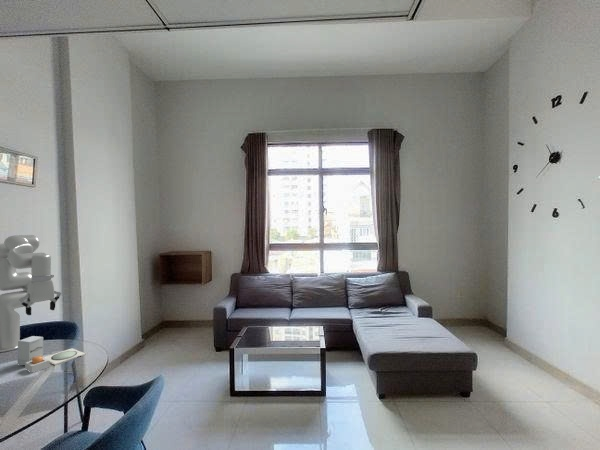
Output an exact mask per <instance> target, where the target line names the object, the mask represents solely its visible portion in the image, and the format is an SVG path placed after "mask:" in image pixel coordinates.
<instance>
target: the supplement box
mask: <svg viewBox="0 0 600 450" xmlns="http://www.w3.org/2000/svg"><path fill="white" fill-rule="evenodd" d="M36 356H43V357H44V337H43V336H37V335H36V336H35V335H31V336H29V337H25V338H23V339H20V340H19V341H18V348H17V365H18V364H19V365H18V366H20V365H25V363H26V362H29V361H32V358H33V357H36Z"/></svg>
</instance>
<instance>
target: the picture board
mask: <svg viewBox="0 0 600 450" xmlns="http://www.w3.org/2000/svg"><path fill="white" fill-rule="evenodd" d="M78 356H81V357H84V356H86V353H85V352H83V351H81V350H80V351H79V350H77V349H76V348H73V347H72V348H69V349H65V350H62V351H59V352H56V353H52V354H49V355H46V356H43V358H45V359H47V360H49V364H52V365H54V366H58V365H62V364H64V363H66V362H69V361H70V362H71V361H72V360H76V359H78V358H77V357H78ZM81 357H80V358H81Z"/></svg>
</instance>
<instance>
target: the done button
mask: <svg viewBox="0 0 600 450" xmlns="http://www.w3.org/2000/svg"><path fill="white" fill-rule="evenodd" d="M43 357H44V355H43V356H36V357H33V358H32V364H37V363H40V362H43Z"/></svg>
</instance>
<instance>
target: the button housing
mask: <svg viewBox="0 0 600 450" xmlns="http://www.w3.org/2000/svg"><path fill="white" fill-rule="evenodd" d="M24 367H25V369H27V370H29V371H30V372H34V371H37V372H39V371H38V370H40V371H43V370H45V369H48V368H50V363H49V360H47V359H45V358H43V362H40V363H37V364H32V361H29V362H26V363H25V366H24ZM25 369H24V370H25ZM42 369H43V370H42ZM27 370H26V371H27ZM29 371H28V372H29ZM30 372H29V373H30ZM34 373H35V372H34Z"/></svg>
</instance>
